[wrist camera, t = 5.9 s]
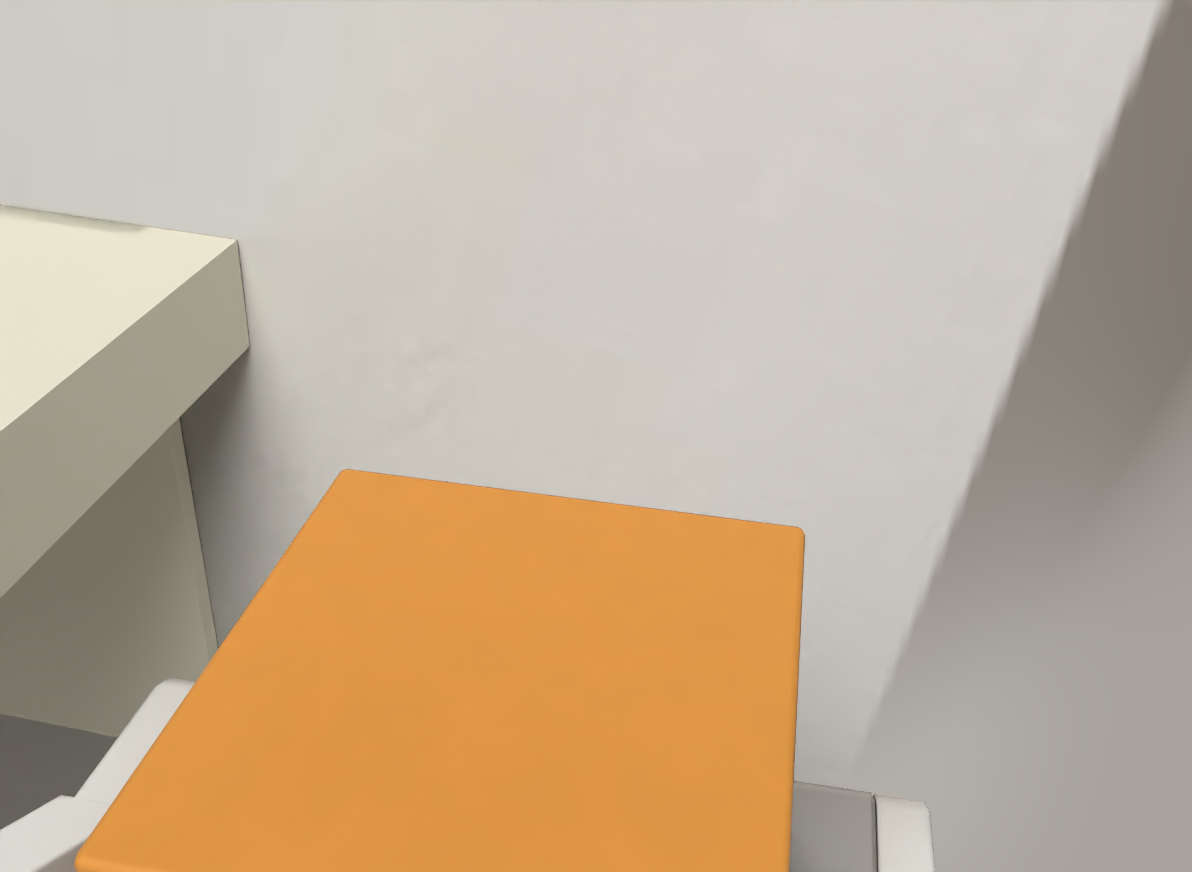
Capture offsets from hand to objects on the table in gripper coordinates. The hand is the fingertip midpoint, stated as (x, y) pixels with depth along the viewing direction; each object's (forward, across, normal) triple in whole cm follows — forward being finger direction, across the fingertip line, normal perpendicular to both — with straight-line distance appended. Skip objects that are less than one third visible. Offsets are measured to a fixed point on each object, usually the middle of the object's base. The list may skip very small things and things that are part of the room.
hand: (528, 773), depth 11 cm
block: (+2, 0, 0) cm, 2 cm away
